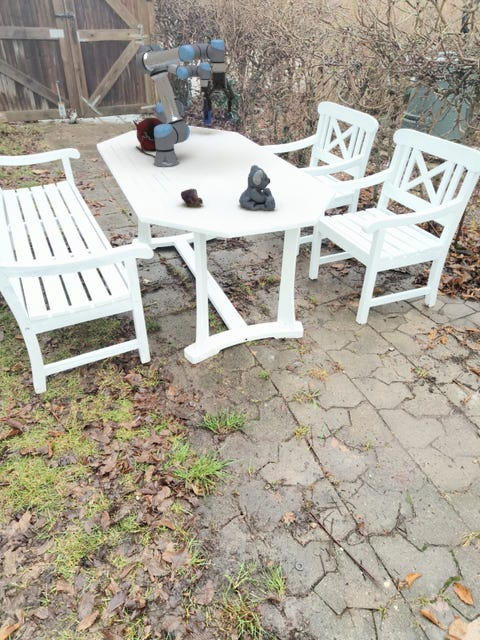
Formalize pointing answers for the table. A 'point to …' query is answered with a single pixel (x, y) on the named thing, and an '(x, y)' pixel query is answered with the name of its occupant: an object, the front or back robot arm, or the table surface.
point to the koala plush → (257, 191)
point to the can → (208, 117)
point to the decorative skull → (147, 133)
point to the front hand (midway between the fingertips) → (219, 111)
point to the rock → (191, 197)
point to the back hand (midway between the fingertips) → (207, 118)
